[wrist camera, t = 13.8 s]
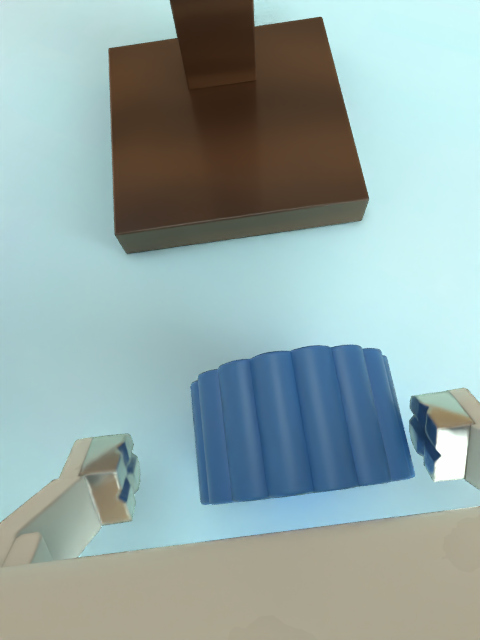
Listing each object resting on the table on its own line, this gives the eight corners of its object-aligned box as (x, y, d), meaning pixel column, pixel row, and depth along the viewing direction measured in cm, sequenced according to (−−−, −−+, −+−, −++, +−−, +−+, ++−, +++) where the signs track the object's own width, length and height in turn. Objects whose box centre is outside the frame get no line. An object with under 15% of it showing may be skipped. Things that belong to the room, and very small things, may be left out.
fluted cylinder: (365, 480, 16) (462, 472, 11) (196, 503, 15) (207, 507, 10) (346, 386, 17) (425, 335, 12) (187, 402, 16) (193, 355, 11)
